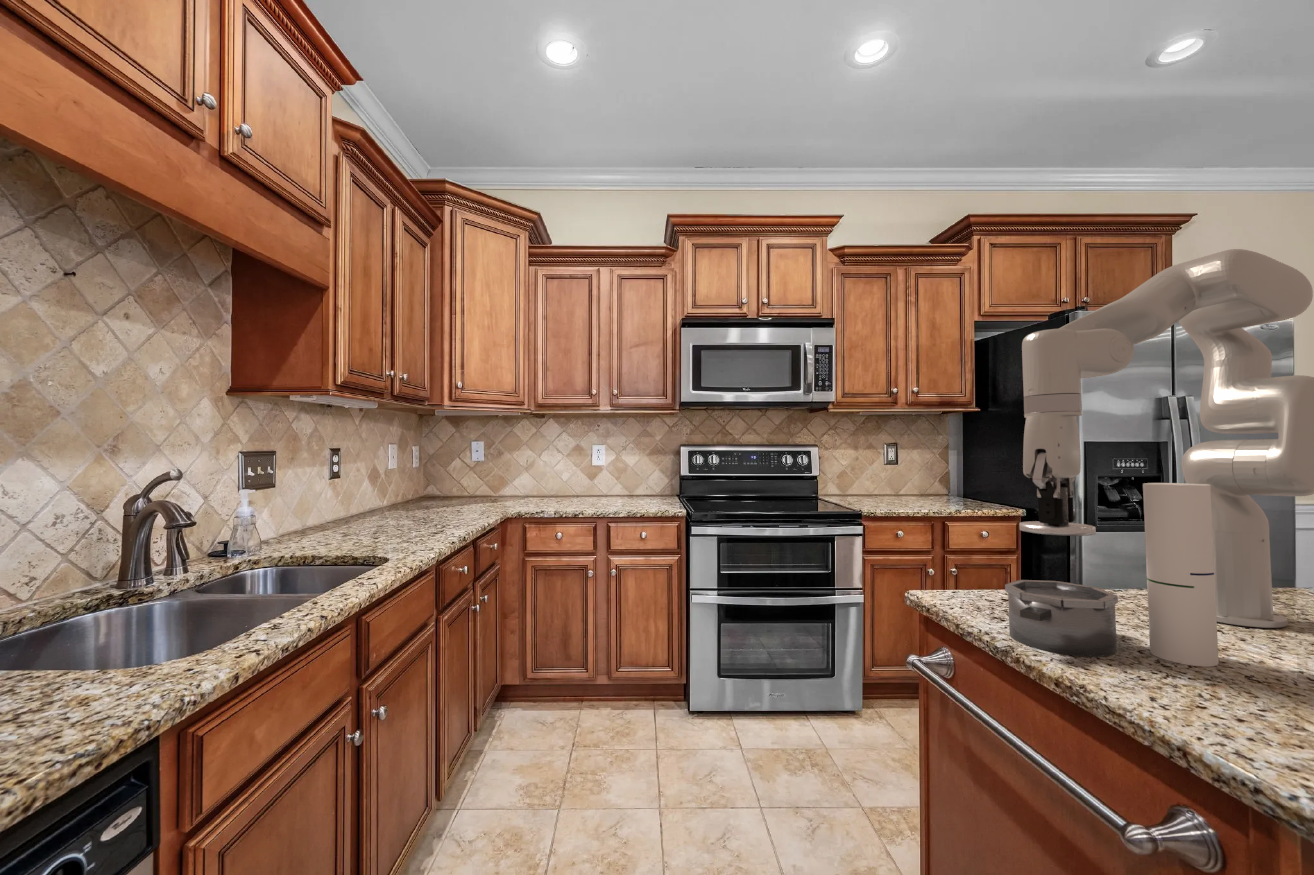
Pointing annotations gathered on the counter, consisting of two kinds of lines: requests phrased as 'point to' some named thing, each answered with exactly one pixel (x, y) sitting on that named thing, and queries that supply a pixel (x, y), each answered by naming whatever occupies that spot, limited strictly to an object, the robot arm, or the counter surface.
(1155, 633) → the cylindrical container
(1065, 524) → the lid
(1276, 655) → the counter surface
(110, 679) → the counter surface
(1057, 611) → the pot
